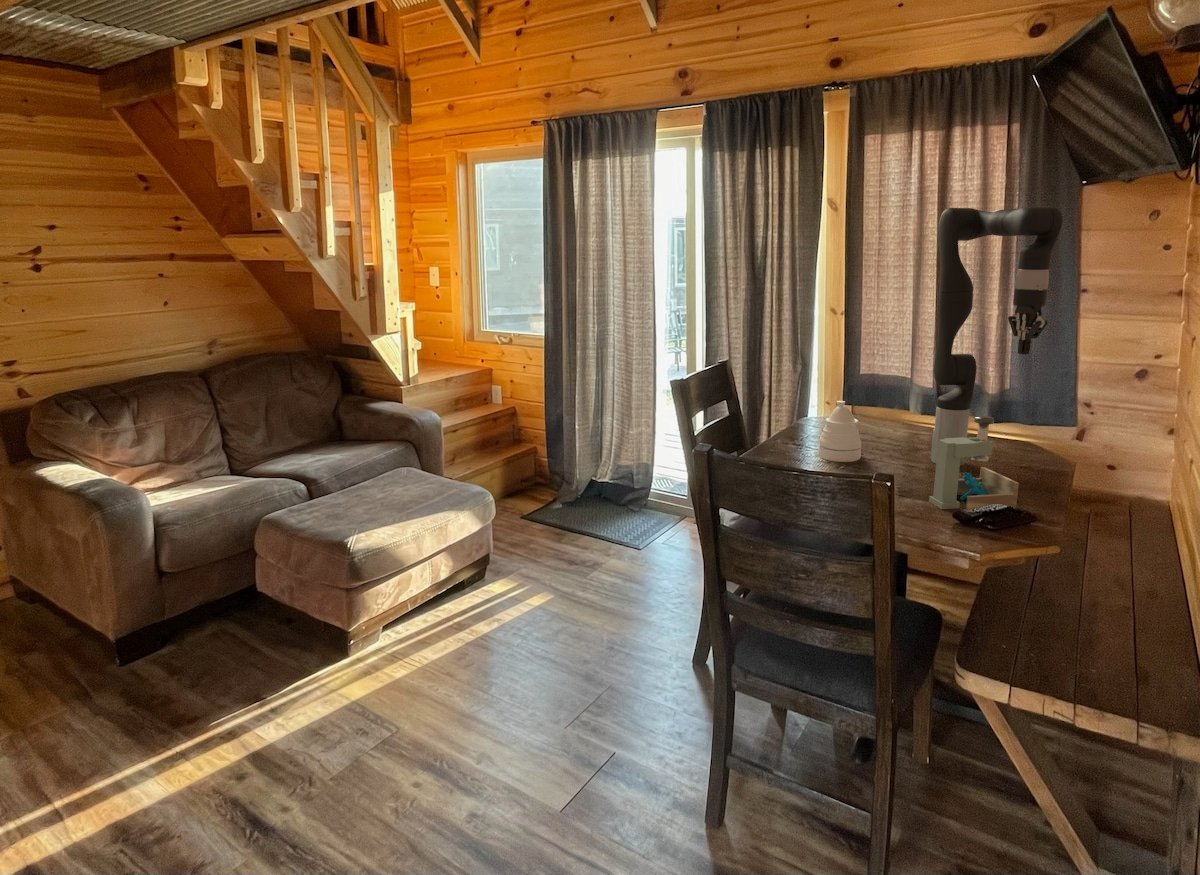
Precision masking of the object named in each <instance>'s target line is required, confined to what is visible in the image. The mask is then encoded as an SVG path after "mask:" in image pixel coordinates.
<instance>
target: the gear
mask: <svg viewBox="0 0 1200 875" xmlns="http://www.w3.org/2000/svg"><path fill="white" fill-rule="evenodd" d="M962 475H963V476H962V479H964V480H966V482H965V483H966V485H967V486H969V487H971V489H970V490H969V492H967V493H966V494H962V495H961V496H960V497H959V498H960V500H961V501H962V500H963V501H964V500H967V496H975V495H989V494H988V492H987V491H986V490H984V487H983V484H982V483H981V482H979V483H977V481H978V480H977V479H976V478H977V477H975V476H974V477H973V475H972V474H971V473H970V472H966V471H965V472H963V473H962Z"/></svg>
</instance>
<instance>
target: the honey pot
mask: <svg viewBox="0 0 1200 875" xmlns="http://www.w3.org/2000/svg"><path fill="white" fill-rule="evenodd" d="M845 404H846V401H844V400H837V401H836V405H837V406H836V407H835V408H834V409H833V411H832V412H831V413H830V416H829V417H826V418H825V419H824V420H825V426H824V427H823V428H822V432H821V434H820V437H819V440H818V441H819V442H818V451H817V456H818V458H820V459H823V460H826V461H831V462H837V463H838V462H839V463H840V462H843V463H848V462H855V461H859V460H860V459H861V456H862V454H861V453H862V439H861V436H860V430H859V429H858V426H857V425H858V424H859V423H860V422H859V420H858V419H857V418H855V417H854V415H853V413H852V411H851V409H850V408H849V407H848V406H847V405H845Z"/></svg>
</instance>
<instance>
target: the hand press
mask: <svg viewBox="0 0 1200 875" xmlns="http://www.w3.org/2000/svg"><path fill="white" fill-rule="evenodd" d="M993 446H994V441H992V440H987V441H979V442H977V436H976V437H975V436H973V437H967V438H965V437H960V438H944V439H942V440H939V441H938V451H937V461H936V463H935V475H934V482H933V483H934V485H933V493H932V494H933V495H930V496H928V503H930V504H932V505H933V504H934V505H933V506H935V507H936V508H939V509H940V510H949V509H960V508H961V502H960V501H958V500H957V498H958V496H957V488H958V479H960V478H959V477H960V459H961V457H965V458H971V457H977V456H983V455H986V456H992V455H993Z"/></svg>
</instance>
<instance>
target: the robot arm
mask: <svg viewBox="0 0 1200 875" xmlns="http://www.w3.org/2000/svg"><path fill="white" fill-rule="evenodd" d="M1063 220H1064V219H1063V214H1062V212H1061V211H1060V209H1059V208H1057V207H1056V206H1055V207H1054V206H1025V207H1021V208H1005V209H1004V208H1003V209H998V210H996V211H993V212H992V211H986V210H981V209H976V208H972V207H948V208H945V209H944V210H943V212H942V213H941V215H940V218H939V222H938V244H939V286H938V313H937V314H938V315H937V316H938V322H937V338H936V346H935V356H934V362H933V377H934V380H935V383H937V384H938V385H939V386H954V388H953V389H952V390H950V391H949V392H947V393H944V394H942V395H940V396H938V397H937V400H936V407H935V408H936V409H935V418H934V428H933V430H932V435H931V436H932V438H931V449H930V462H932V463H933V464H936V461H937V451H938V441H939V440H942V439H944V438H960V437H965V438H968V430H969V419H970V410H971V403H972V401H973V396H974V389H975V384H976V379H977V378H976V377H977V368H978V367H977V366H978V365H977V360H976V359H975V357H974V355H973V354H969V353H952V352H953V345H954V341H955V338H956V336H957V334H958V333H959V331H960V329H961V328H962V326H963V325H965V322H966V321H967V320H968V317H969V316H970V314H971V313H972V309H973V305H974V285H973V281H972V279H971V277H970V275H969V273H968V272H967V270H966V268H965V266H964V264H963V263H962V260H961V256H960V250H959V249H960V248H959V242H960V241H961V242H962V241H963V242H965V241H966V242H967V241H972V240H976V239H979V238H983V237H987V236H996V237H1016V236H1017V237H1018V236H1022V237H1023V236H1024V237H1025V236H1026V237H1030V236H1035V237H1036V239H1035V240H1034V242H1033V243H1032V244H1030V245H1026V246H1023V247H1022V248H1021V249H1020V252H1019V258H1018V266H1017V273H1016V277H1015V285H1014V290H1013V291H1014V293H1013V300H1012V301H1013V302H1012V303H1013V306H1016V308H1015V311H1014V314H1013V315H1010V316H1008V317H1007V320H1008V323H1009V326H1010V329H1011V331H1012V335H1013V336H1014V337H1017V339H1018V342H1017V343H1018V347H1017V354H1019V355H1028V354H1030V351H1031V343H1032V340H1034V339H1038V338H1039V336H1040V335H1041V333H1042V332H1043V331H1044V329H1045V328H1046V326H1048V320H1044V319H1043V318H1042V316H1043V313H1042V312H1043V311H1042V308H1043V307H1044V306H1046V304H1047V299H1048V298H1047V296H1048V291H1049V290H1048V288H1049V281H1050V280H1049V279H1050V274H1049V273H1050V272H1049V271H1050V263H1051V254H1052V252H1053V249H1054V247H1055V245H1056V241H1057V239H1058V237H1059V234H1060V232H1061V230H1062V227H1063V226H1062V225H1063ZM965 458H966V457H961V459H960V466H963V465H965Z"/></svg>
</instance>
